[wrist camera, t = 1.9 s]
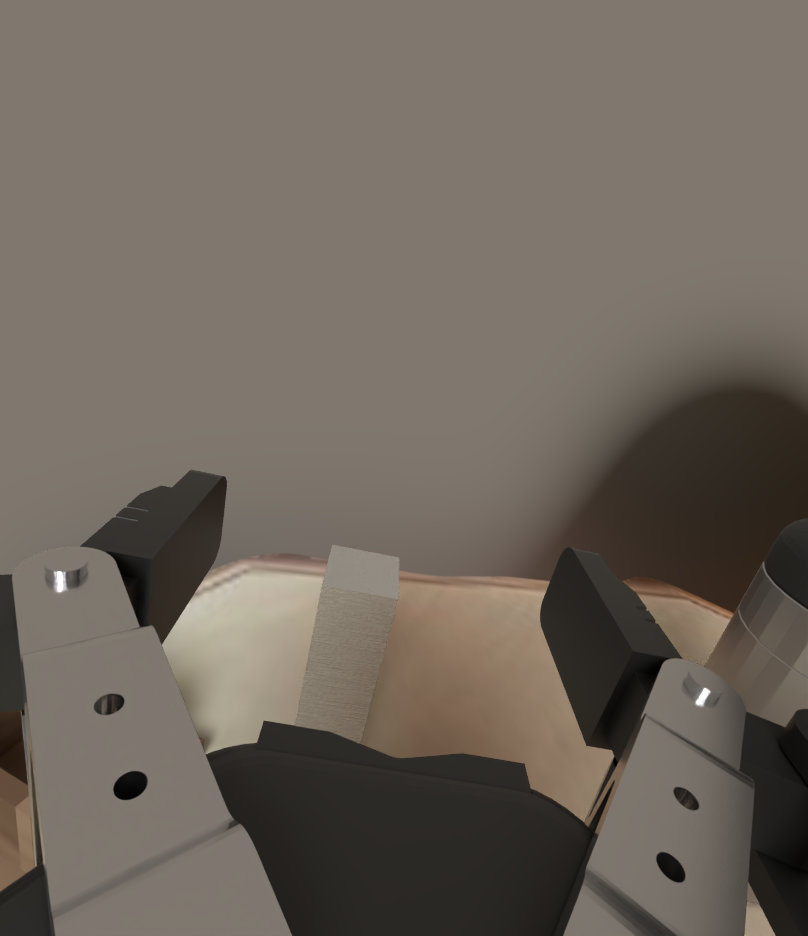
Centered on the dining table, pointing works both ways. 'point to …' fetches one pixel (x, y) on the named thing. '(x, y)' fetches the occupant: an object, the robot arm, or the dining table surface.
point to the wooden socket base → (15, 802)
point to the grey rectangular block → (348, 641)
